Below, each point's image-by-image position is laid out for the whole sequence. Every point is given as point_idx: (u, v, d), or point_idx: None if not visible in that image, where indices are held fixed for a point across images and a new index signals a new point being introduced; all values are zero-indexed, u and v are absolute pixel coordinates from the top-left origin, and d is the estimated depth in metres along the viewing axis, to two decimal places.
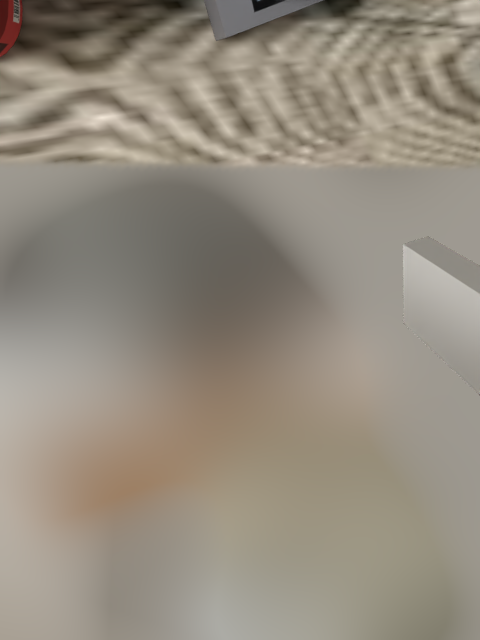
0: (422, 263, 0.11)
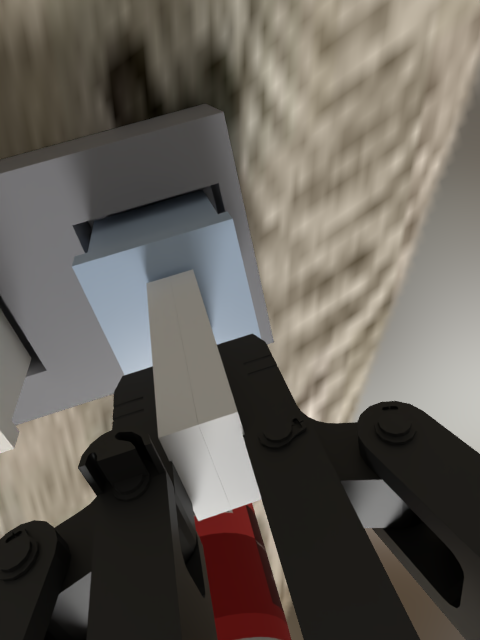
0: (174, 294, 0.12)
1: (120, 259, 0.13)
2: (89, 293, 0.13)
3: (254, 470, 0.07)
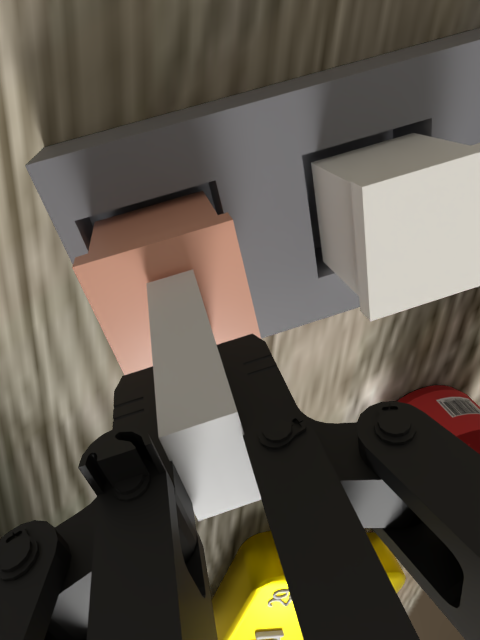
0: (174, 295, 0.12)
1: None
2: None
3: (254, 470, 0.07)
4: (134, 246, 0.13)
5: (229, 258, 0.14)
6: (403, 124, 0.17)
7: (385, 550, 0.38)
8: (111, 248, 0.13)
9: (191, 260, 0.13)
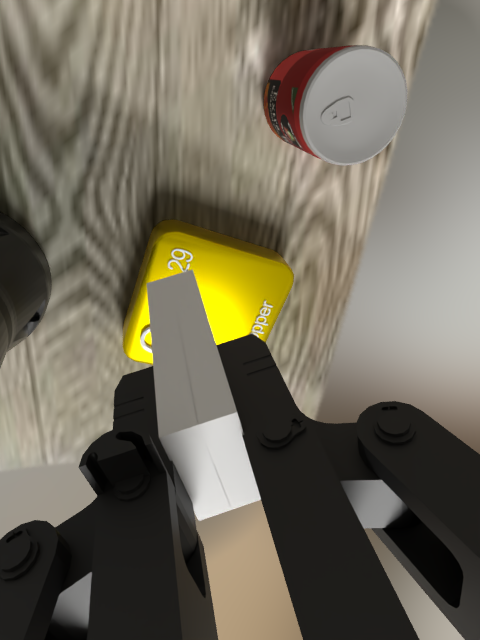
0: (173, 295, 0.12)
1: None
2: None
3: (253, 470, 0.07)
4: None
5: None
6: None
7: (278, 256, 0.45)
8: None
9: None
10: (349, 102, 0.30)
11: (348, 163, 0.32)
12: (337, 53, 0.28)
